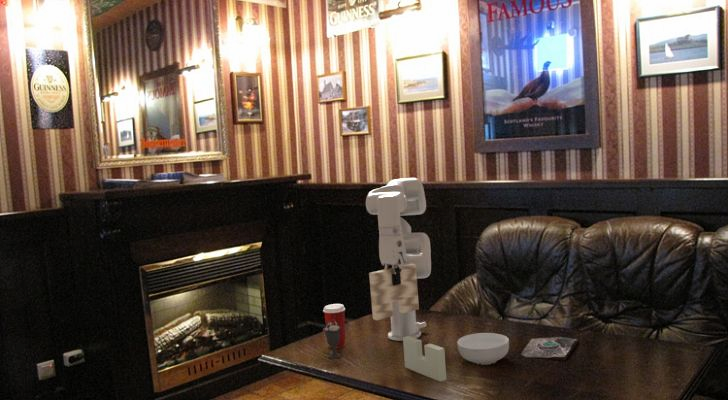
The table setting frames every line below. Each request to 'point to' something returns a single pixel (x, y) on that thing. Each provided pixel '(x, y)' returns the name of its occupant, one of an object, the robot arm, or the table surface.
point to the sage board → (424, 358)
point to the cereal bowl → (483, 347)
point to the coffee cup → (336, 319)
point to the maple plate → (393, 292)
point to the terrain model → (550, 348)
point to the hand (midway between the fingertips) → (394, 283)
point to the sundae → (333, 337)
